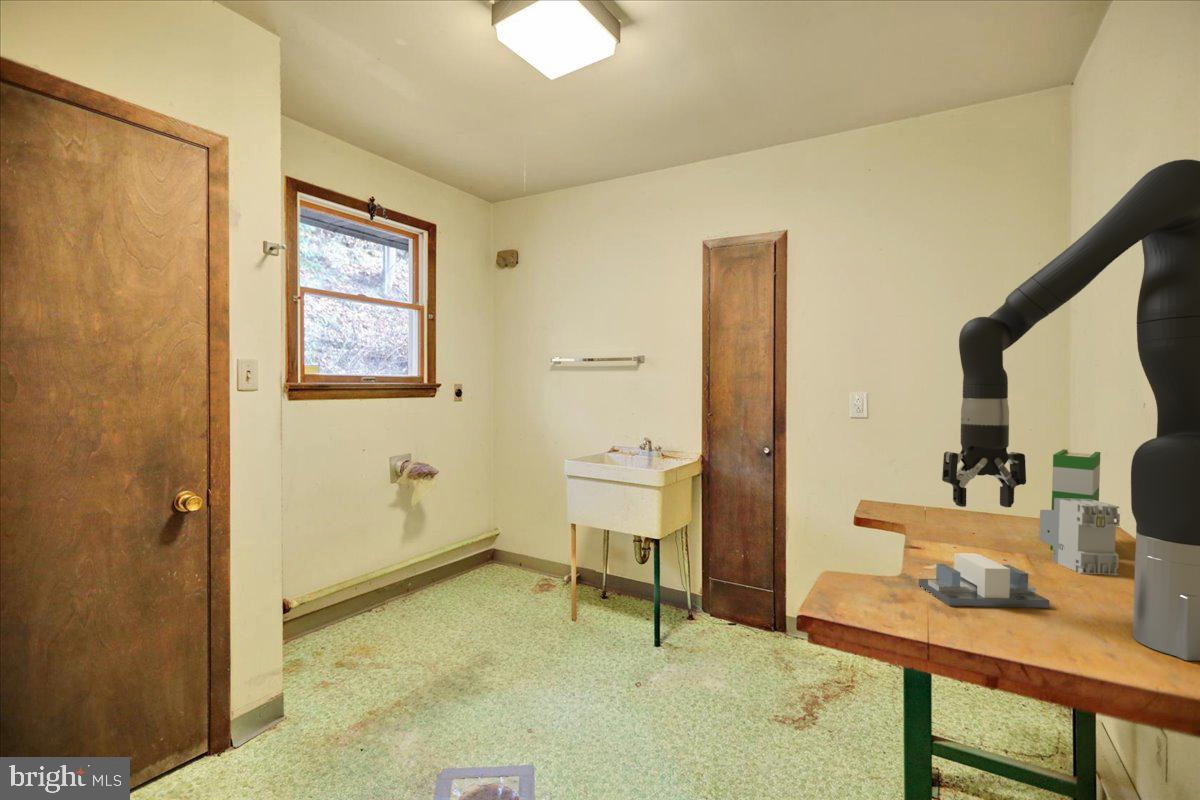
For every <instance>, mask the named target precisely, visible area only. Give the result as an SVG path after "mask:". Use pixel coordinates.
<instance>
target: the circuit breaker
mask: <svg viewBox="0 0 1200 800" xmlns="http://www.w3.org/2000/svg"><path fill="white" fill-rule="evenodd" d="M1118 509H1120V505H1117V506H1116V505H1114V504H1111V503H1107V502H1103V501H1100V500H1099V501H1096V500H1092V499H1072V498H1054V510H1052V509H1039V535H1038V536H1039V537H1038V539H1039V542H1042V543H1044V544H1048V545H1050V546H1051V545H1052V546H1053V553H1052V563H1054V562H1055V564H1056V563H1058V564H1057V565H1059V564H1060V565H1059V566H1061V565H1063V566H1065V567H1064V568H1066V567H1067V568H1066V569H1068V568H1069V569H1068V570H1070V569H1072V570H1074V571H1073V572H1075V571H1078V572H1077V573H1078V574H1079V573H1080V574H1079V575H1093V574H1109V575H1108V576H1119V573H1117V569H1119V553H1117V552H1116V534H1117V533H1116V531H1117V528H1116V527H1120V525H1121V524H1120V523H1121V522H1120V520H1121V519H1120V518H1121V516H1120V515H1121V514H1120V513H1118ZM1115 520H1116V521H1115ZM1063 566H1062V567H1063ZM1072 570H1071V571H1072ZM1110 574H1111V575H1110Z"/></svg>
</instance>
